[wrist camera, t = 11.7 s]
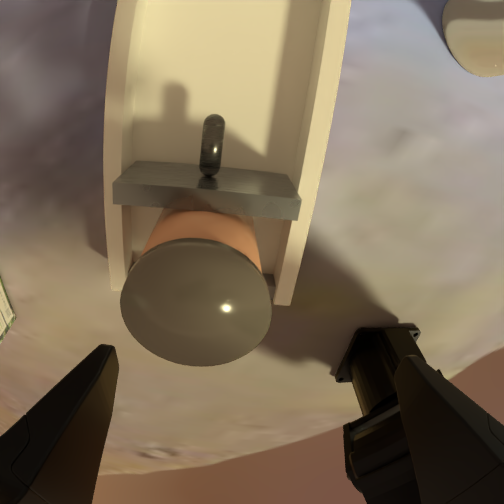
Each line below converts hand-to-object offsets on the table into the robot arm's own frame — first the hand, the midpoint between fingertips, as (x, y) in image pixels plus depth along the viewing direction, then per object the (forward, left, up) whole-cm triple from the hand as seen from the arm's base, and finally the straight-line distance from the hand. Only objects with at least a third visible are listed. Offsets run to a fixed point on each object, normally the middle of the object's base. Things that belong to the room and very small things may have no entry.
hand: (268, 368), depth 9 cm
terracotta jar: (-1, +2, -11) cm, 11 cm away
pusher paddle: (+4, +2, -11) cm, 12 cm away
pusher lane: (+5, +2, -12) cm, 13 cm away
